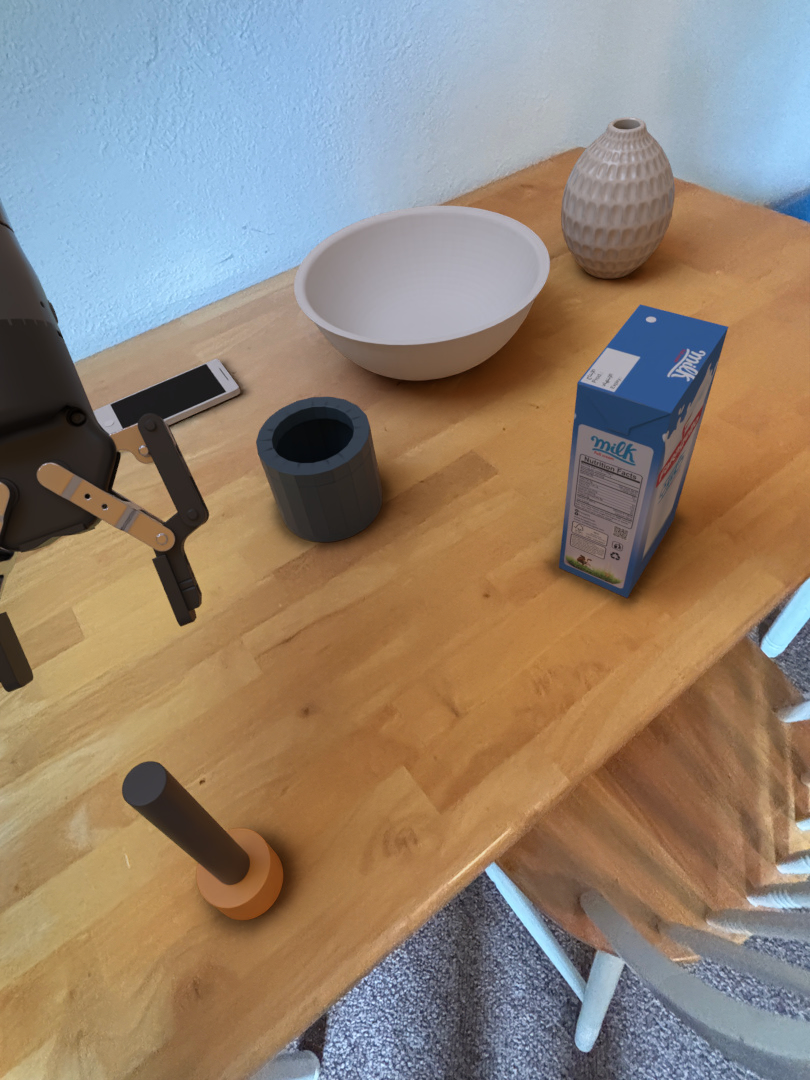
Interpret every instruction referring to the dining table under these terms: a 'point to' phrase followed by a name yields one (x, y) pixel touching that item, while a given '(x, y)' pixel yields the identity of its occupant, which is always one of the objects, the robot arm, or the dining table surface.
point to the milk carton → (635, 443)
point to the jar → (321, 468)
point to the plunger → (208, 844)
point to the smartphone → (171, 397)
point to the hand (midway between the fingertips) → (107, 653)
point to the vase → (618, 200)
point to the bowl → (423, 288)
